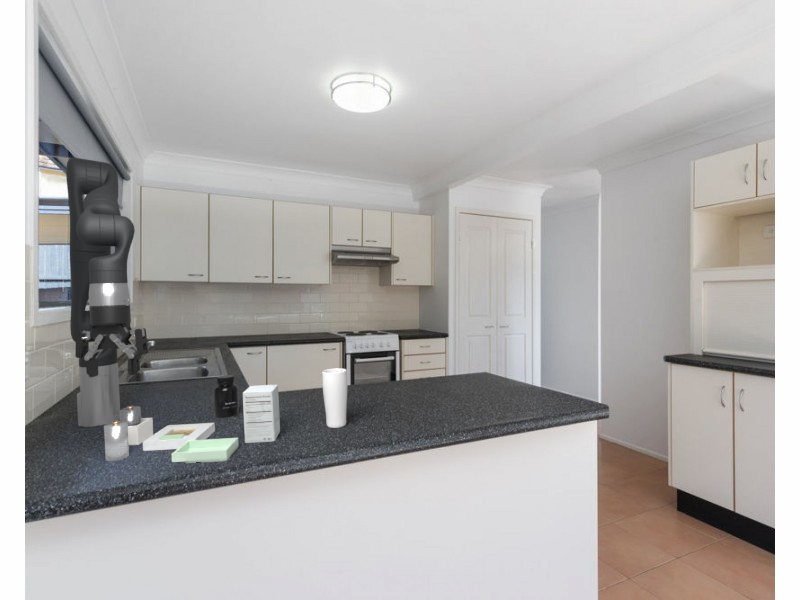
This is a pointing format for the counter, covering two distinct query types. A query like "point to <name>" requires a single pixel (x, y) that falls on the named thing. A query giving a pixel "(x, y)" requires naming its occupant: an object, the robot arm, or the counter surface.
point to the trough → (205, 450)
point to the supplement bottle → (226, 397)
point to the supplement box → (261, 413)
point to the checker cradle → (177, 436)
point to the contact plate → (182, 432)
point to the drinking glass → (335, 396)
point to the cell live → (116, 440)
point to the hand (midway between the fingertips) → (113, 375)
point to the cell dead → (131, 415)
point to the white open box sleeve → (140, 431)
